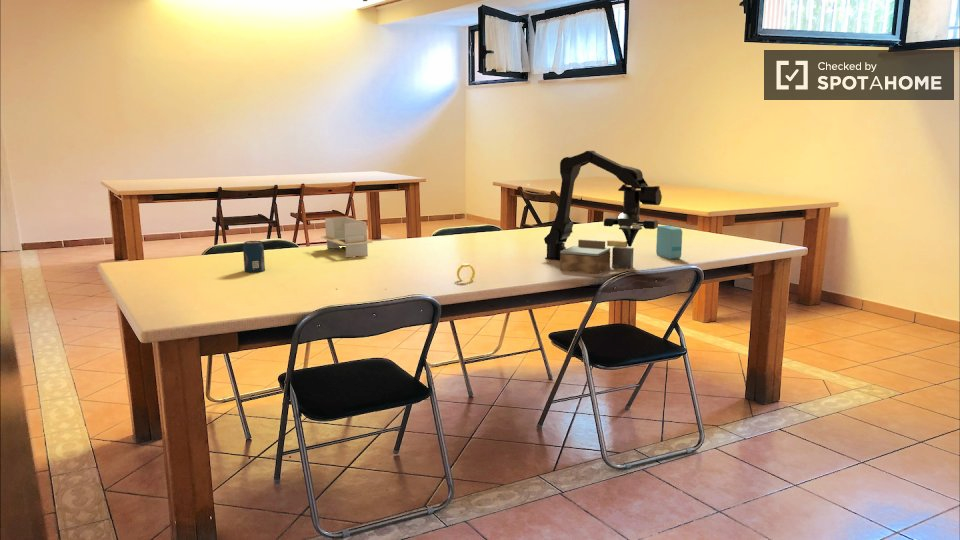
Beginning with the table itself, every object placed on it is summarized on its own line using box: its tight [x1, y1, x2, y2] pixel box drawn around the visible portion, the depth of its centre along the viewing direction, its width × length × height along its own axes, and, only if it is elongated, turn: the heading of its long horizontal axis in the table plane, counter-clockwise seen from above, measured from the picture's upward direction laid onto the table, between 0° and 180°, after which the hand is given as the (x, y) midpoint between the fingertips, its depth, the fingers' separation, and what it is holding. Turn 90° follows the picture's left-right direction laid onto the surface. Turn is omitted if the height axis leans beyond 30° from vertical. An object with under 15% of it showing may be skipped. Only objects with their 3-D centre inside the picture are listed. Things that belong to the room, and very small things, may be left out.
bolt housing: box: [611, 246, 635, 269], centre depth 267 cm, size 7×3×7 cm, turn 62°
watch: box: [456, 262, 476, 282], centre depth 243 cm, size 6×3×6 cm, turn 113°
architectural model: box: [320, 216, 373, 258], centre depth 295 cm, size 26×13×15 cm, turn 31°
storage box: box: [559, 250, 611, 275], centre depth 264 cm, size 14×14×6 cm
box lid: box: [560, 239, 611, 256], centre depth 263 cm, size 14×14×3 cm
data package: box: [655, 225, 683, 260], centre depth 287 cm, size 12×4×12 cm, turn 15°
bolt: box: [606, 239, 628, 247], centre depth 267 cm, size 7×2×2 cm, turn 62°
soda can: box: [242, 240, 266, 274], centre depth 255 cm, size 7×7×12 cm
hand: (629, 246), depth 265 cm, fingers closed
